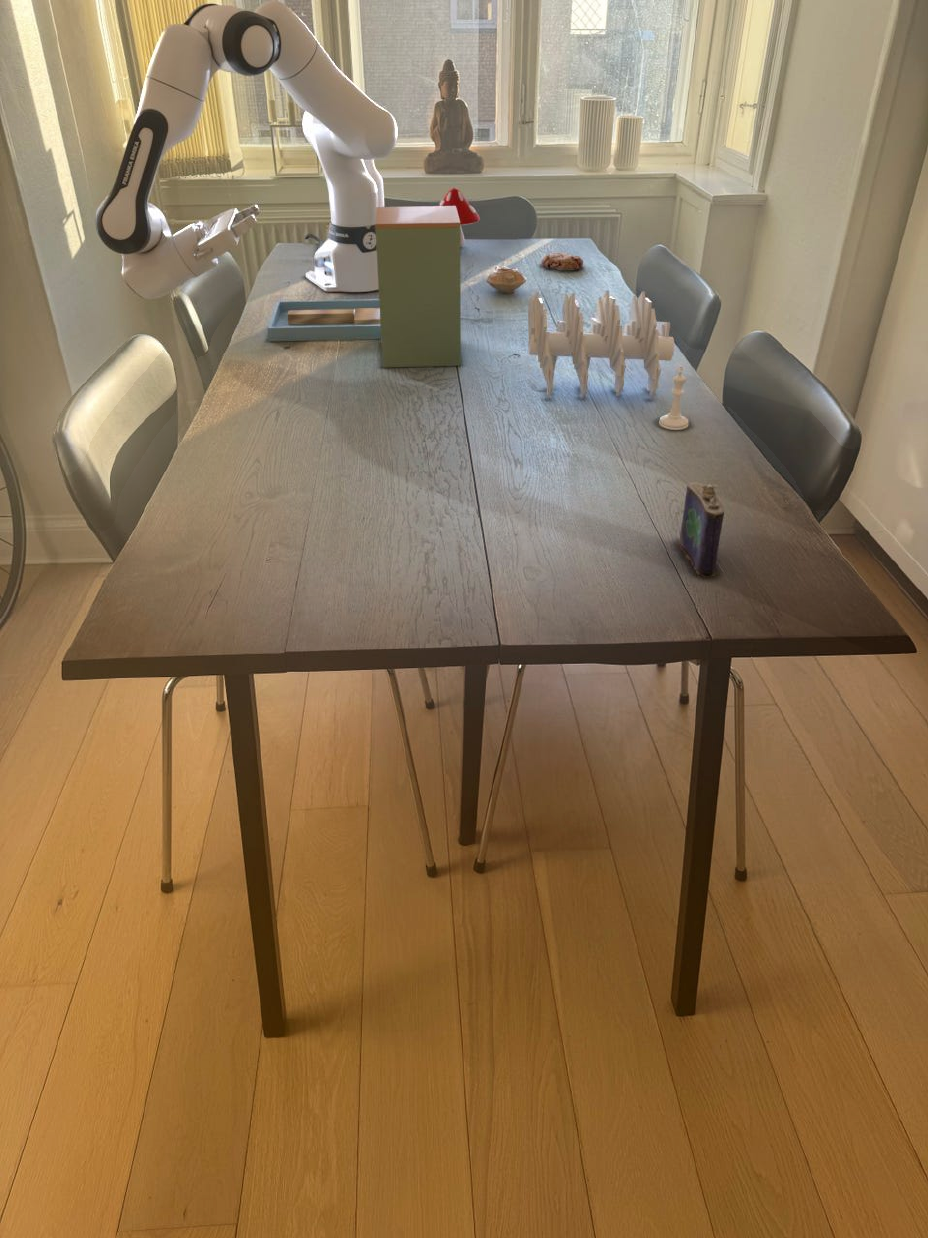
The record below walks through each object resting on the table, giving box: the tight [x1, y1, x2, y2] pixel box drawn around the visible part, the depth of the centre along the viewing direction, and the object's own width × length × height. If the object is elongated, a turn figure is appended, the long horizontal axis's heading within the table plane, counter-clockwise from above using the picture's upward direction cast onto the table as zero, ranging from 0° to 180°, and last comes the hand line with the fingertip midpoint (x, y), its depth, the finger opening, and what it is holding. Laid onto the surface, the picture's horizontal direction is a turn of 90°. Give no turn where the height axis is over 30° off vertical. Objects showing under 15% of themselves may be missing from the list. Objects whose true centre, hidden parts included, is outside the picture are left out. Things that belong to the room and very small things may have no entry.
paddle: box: [288, 308, 380, 325], centre depth 201 cm, size 23×8×2 cm, turn 93°
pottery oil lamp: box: [485, 265, 527, 294], centre depth 223 cm, size 9×12×7 cm
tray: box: [267, 298, 381, 342], centre depth 202 cm, size 32×19×3 cm, turn 94°
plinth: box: [375, 205, 462, 369], centre depth 180 cm, size 15×14×26 cm
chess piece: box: [658, 365, 690, 431], centre depth 156 cm, size 5×5×10 cm
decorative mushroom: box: [437, 187, 481, 248], centre depth 253 cm, size 14×14×15 cm
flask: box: [678, 481, 725, 578], centre depth 120 cm, size 9×3×11 cm, turn 8°
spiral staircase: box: [527, 290, 675, 399], centre depth 166 cm, size 18×18×25 cm
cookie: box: [540, 252, 584, 271], centre depth 240 cm, size 10×11×3 cm
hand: (256, 213), depth 188 cm, fingers open, 8 cm apart
